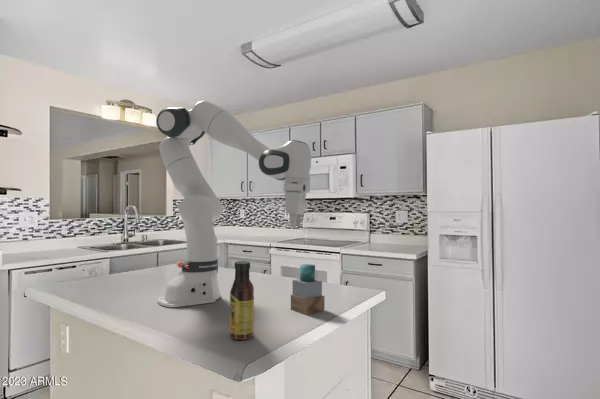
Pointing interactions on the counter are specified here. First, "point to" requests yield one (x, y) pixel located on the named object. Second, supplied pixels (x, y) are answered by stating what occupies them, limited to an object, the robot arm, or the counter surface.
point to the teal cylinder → (307, 273)
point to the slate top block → (307, 288)
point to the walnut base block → (307, 304)
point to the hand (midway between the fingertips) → (295, 226)
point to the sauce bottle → (242, 303)
